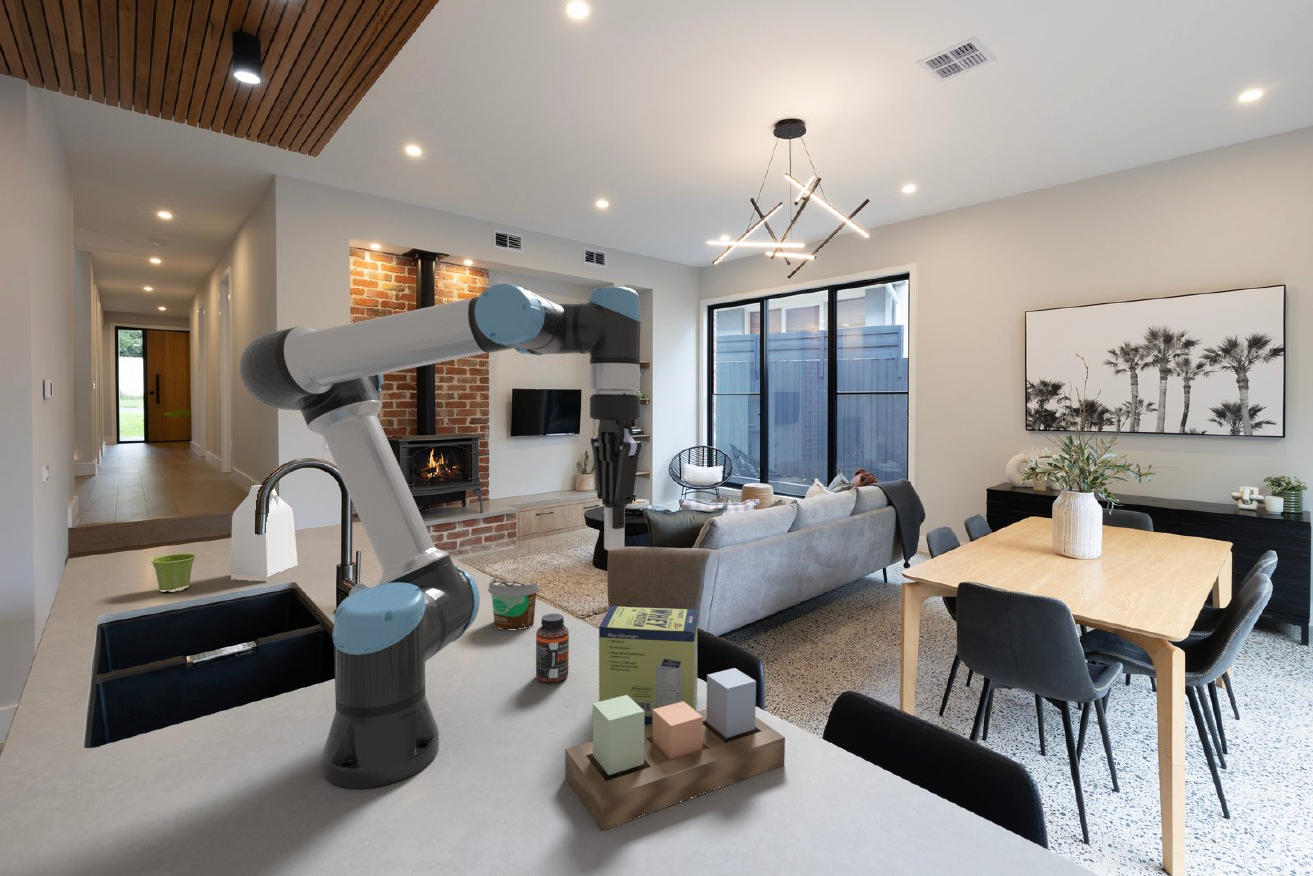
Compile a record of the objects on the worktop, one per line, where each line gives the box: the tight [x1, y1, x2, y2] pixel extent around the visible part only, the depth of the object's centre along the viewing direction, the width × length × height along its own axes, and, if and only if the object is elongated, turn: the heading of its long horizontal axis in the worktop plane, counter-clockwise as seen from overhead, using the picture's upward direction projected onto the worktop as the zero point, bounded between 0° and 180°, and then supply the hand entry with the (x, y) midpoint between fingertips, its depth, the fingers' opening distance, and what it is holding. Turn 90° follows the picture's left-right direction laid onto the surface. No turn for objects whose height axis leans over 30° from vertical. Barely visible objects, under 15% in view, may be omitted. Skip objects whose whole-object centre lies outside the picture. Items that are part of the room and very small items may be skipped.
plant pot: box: [150, 553, 197, 591], centre depth 164 cm, size 9×9×9 cm
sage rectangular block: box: [592, 695, 645, 775], centre depth 80 cm, size 5×5×7 cm
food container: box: [487, 576, 540, 630], centre depth 139 cm, size 12×6×10 cm, turn 68°
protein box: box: [598, 605, 698, 726], centre depth 102 cm, size 10×16×16 cm
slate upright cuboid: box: [706, 667, 757, 738], centre depth 89 cm, size 5×5×7 cm
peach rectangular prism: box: [652, 701, 703, 761], centre depth 85 cm, size 5×5×7 cm
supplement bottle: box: [535, 613, 570, 684], centre depth 114 cm, size 6×6×11 cm
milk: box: [229, 484, 299, 577], centre depth 178 cm, size 12×12×26 cm
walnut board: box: [564, 708, 786, 832], centre depth 85 cm, size 28×12×4 cm, turn 119°
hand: (614, 548), depth 94 cm, fingers closed
